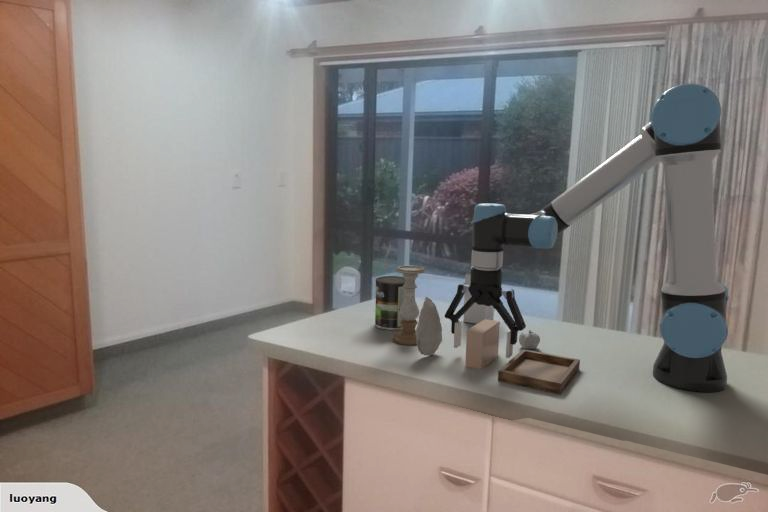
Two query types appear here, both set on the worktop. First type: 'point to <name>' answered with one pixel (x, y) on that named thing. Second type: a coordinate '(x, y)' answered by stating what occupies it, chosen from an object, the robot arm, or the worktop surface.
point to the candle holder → (408, 306)
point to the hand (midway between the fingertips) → (482, 351)
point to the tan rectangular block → (482, 343)
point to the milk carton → (476, 307)
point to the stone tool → (428, 329)
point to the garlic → (529, 340)
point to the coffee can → (389, 302)
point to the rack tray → (539, 371)
